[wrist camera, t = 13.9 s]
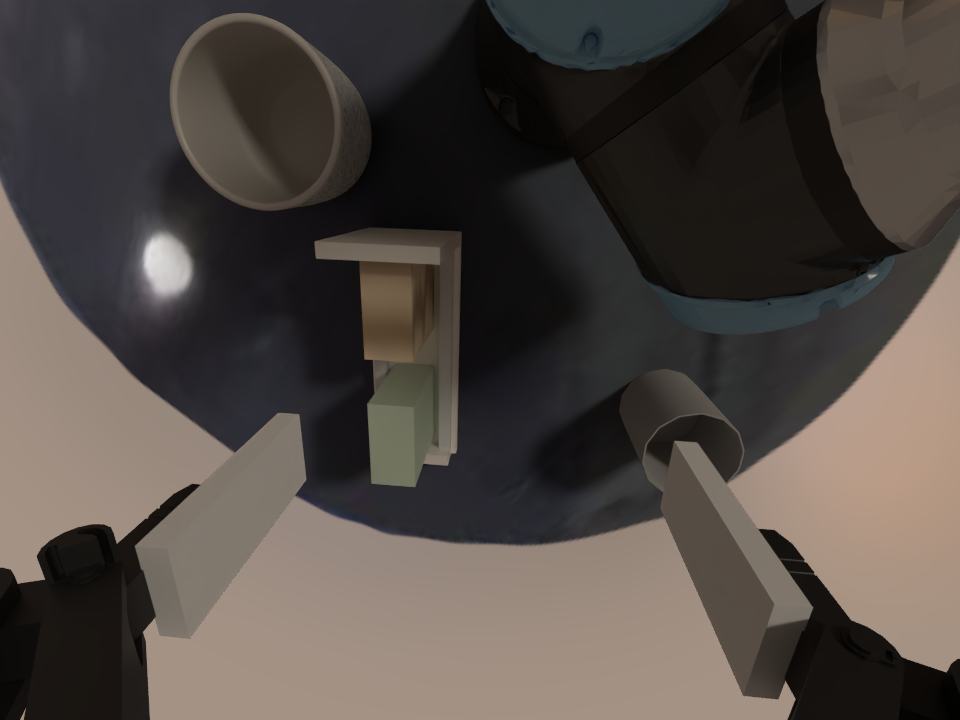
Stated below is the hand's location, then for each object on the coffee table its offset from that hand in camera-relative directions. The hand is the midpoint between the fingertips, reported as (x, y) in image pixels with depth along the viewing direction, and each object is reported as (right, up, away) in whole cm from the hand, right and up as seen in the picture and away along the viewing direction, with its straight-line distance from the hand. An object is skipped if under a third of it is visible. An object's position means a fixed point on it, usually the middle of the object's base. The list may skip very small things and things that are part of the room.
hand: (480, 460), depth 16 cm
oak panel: (-7, +11, +29) cm, 32 cm away
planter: (-15, +24, +27) cm, 39 cm away
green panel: (-7, -1, +34) cm, 34 cm away
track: (-7, +5, +33) cm, 34 cm away
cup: (+19, -1, +33) cm, 38 cm away
